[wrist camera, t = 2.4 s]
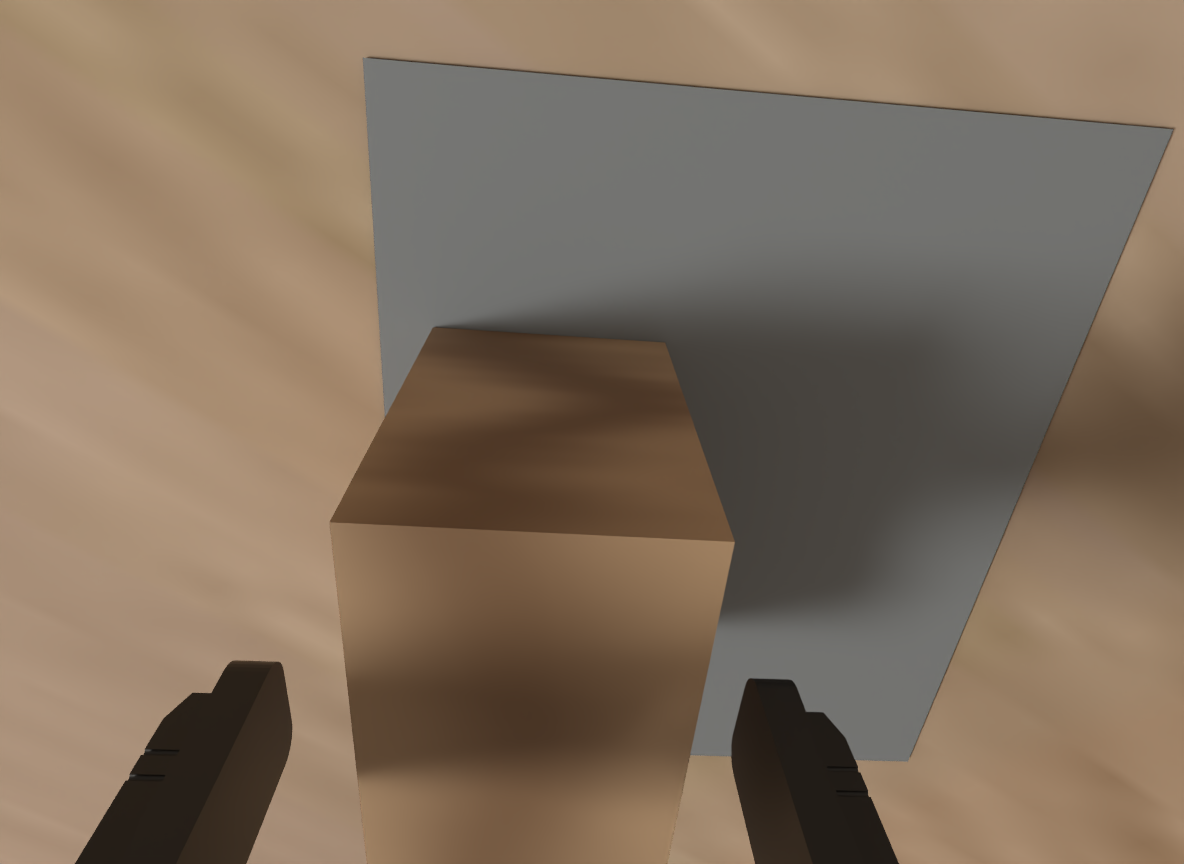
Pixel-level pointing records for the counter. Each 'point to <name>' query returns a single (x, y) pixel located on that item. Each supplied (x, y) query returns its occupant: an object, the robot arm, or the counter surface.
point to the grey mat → (780, 326)
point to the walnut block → (529, 603)
